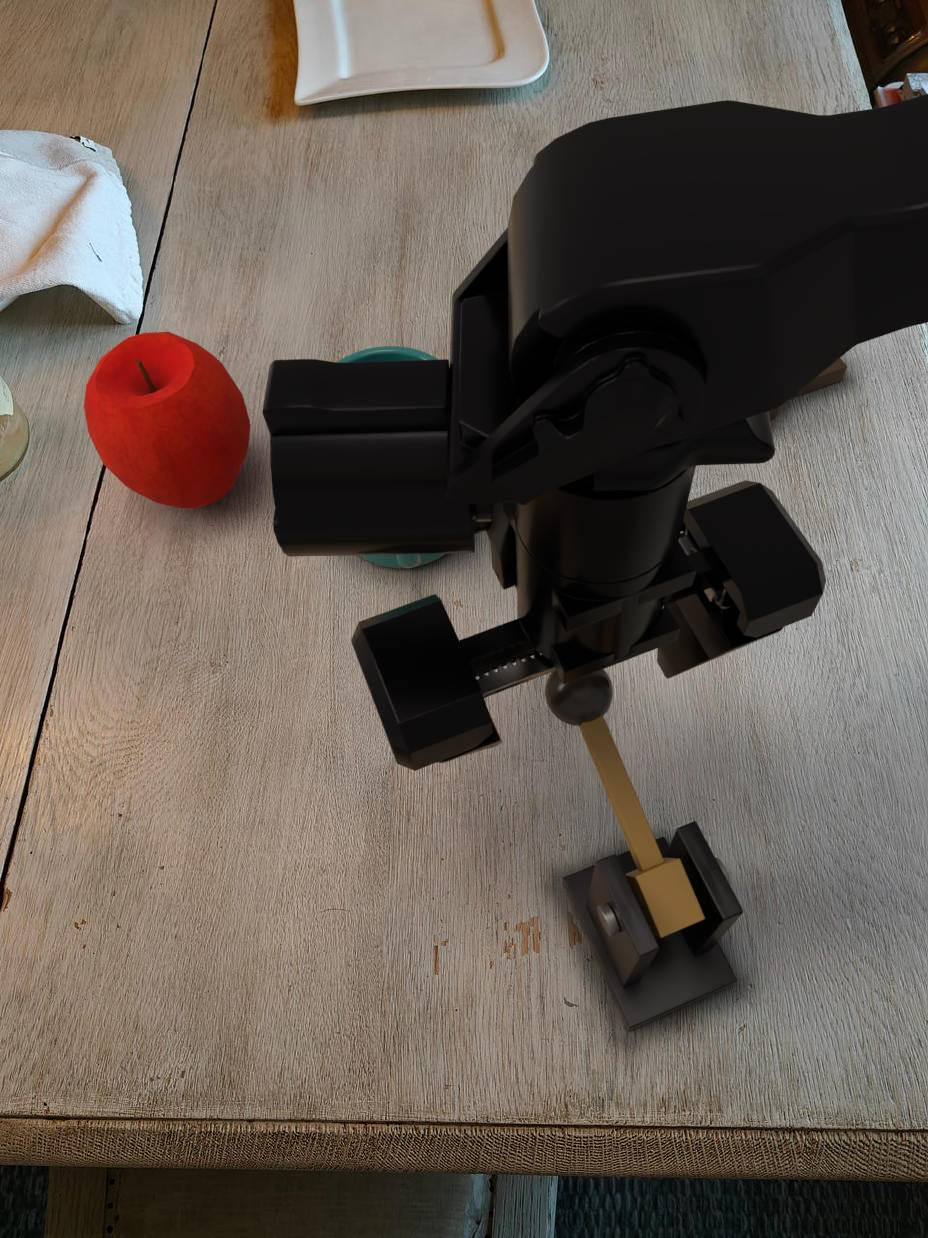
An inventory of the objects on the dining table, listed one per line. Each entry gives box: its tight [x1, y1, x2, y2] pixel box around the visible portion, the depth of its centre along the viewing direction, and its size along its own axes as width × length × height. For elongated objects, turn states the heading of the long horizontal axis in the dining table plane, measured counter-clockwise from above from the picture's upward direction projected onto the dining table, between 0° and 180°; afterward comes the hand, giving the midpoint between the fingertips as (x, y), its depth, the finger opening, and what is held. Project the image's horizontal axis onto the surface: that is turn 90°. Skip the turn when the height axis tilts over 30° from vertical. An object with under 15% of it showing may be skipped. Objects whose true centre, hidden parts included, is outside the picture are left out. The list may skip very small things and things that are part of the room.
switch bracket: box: [562, 820, 744, 1032], centre depth 46 cm, size 8×6×10 cm
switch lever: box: [544, 669, 705, 938], centre depth 44 cm, size 13×3×3 cm, turn 21°
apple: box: [83, 331, 252, 509], centre depth 62 cm, size 10×10×12 cm
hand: (579, 702), depth 46 cm, fingers open, 9 cm apart
